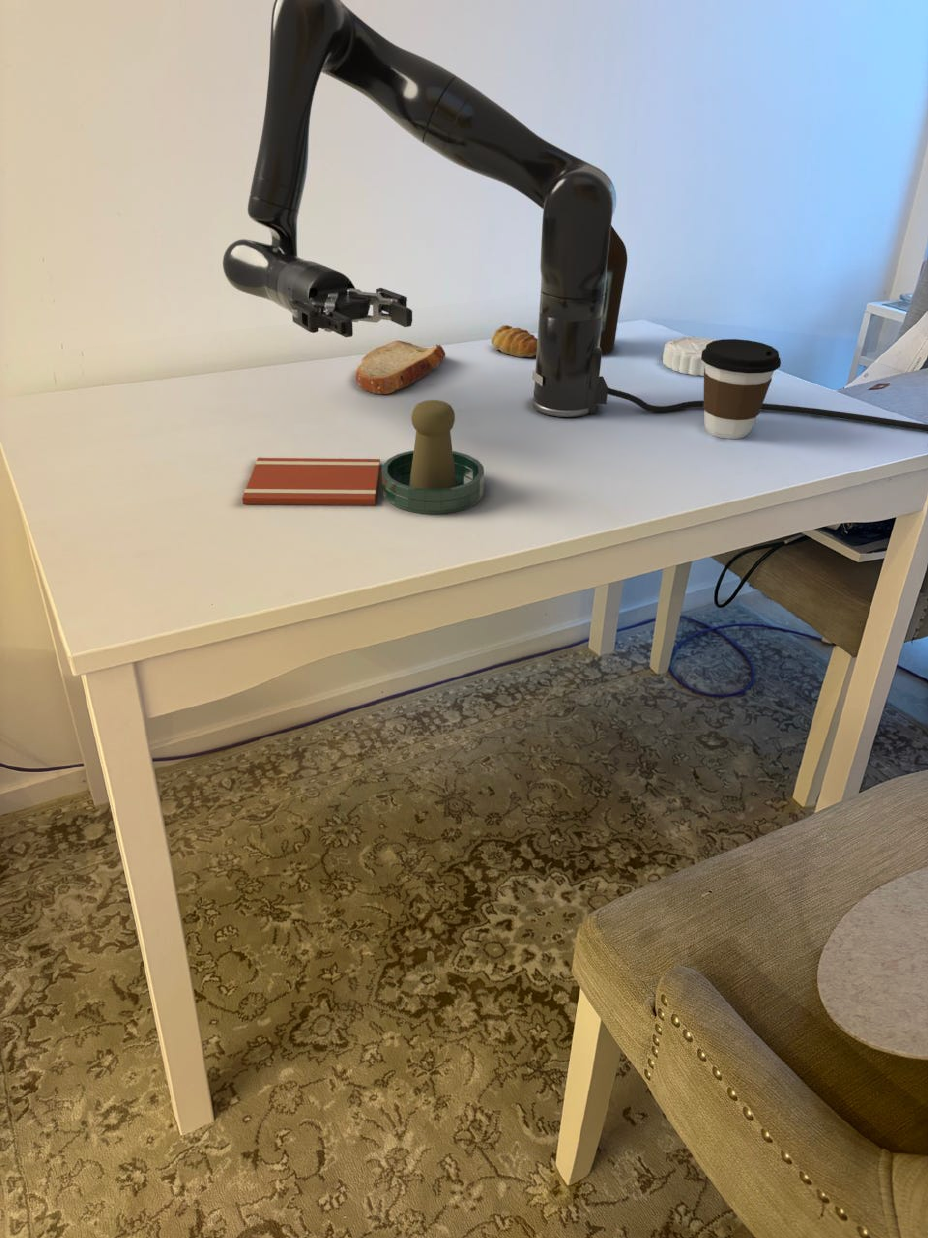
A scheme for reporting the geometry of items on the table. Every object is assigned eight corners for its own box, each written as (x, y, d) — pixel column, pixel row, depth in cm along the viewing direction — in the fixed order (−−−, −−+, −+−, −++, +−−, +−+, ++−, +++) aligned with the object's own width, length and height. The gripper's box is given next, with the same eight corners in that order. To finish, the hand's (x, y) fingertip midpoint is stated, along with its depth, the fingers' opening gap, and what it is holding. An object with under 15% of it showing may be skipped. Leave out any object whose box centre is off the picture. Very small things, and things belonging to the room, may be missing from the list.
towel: (380, 464, 121) (379, 458, 120) (375, 505, 111) (375, 498, 110) (258, 463, 120) (257, 456, 120) (242, 504, 110) (241, 497, 110)
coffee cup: (770, 425, 136) (788, 344, 129) (757, 451, 127) (776, 366, 121) (697, 412, 139) (711, 333, 133) (680, 436, 131) (694, 353, 124)
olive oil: (565, 336, 171) (577, 191, 157) (621, 343, 168) (639, 195, 154) (552, 353, 162) (564, 200, 148) (611, 360, 160) (629, 205, 146)
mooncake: (739, 377, 153) (744, 356, 151) (668, 375, 153) (671, 354, 151) (723, 355, 163) (727, 335, 161) (657, 353, 163) (660, 333, 161)
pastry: (550, 354, 162) (552, 332, 160) (525, 362, 158) (526, 340, 156) (512, 341, 167) (513, 320, 165) (486, 349, 163) (487, 328, 161)
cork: (408, 478, 116) (407, 394, 110) (455, 477, 117) (456, 394, 111) (409, 499, 111) (408, 413, 105) (458, 498, 112) (460, 412, 106)
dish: (480, 470, 120) (481, 449, 118) (485, 514, 109) (486, 491, 108) (384, 469, 119) (384, 448, 118) (380, 513, 109) (379, 490, 107)
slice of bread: (368, 397, 142) (367, 373, 139) (334, 362, 155) (333, 340, 153) (474, 383, 148) (474, 361, 146) (432, 351, 161) (432, 330, 159)
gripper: (264, 270, 116) (327, 299, 106) (360, 258, 124) (428, 284, 113) (269, 329, 121) (331, 363, 110) (362, 314, 128) (428, 345, 117)
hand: (380, 323), depth 112 cm, fingers open, 8 cm apart
